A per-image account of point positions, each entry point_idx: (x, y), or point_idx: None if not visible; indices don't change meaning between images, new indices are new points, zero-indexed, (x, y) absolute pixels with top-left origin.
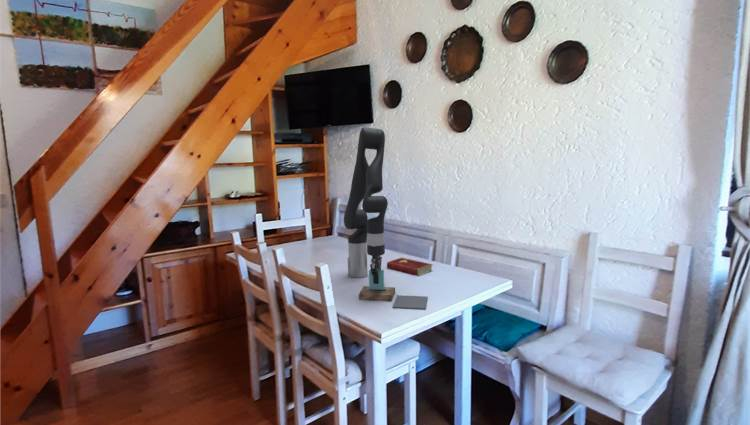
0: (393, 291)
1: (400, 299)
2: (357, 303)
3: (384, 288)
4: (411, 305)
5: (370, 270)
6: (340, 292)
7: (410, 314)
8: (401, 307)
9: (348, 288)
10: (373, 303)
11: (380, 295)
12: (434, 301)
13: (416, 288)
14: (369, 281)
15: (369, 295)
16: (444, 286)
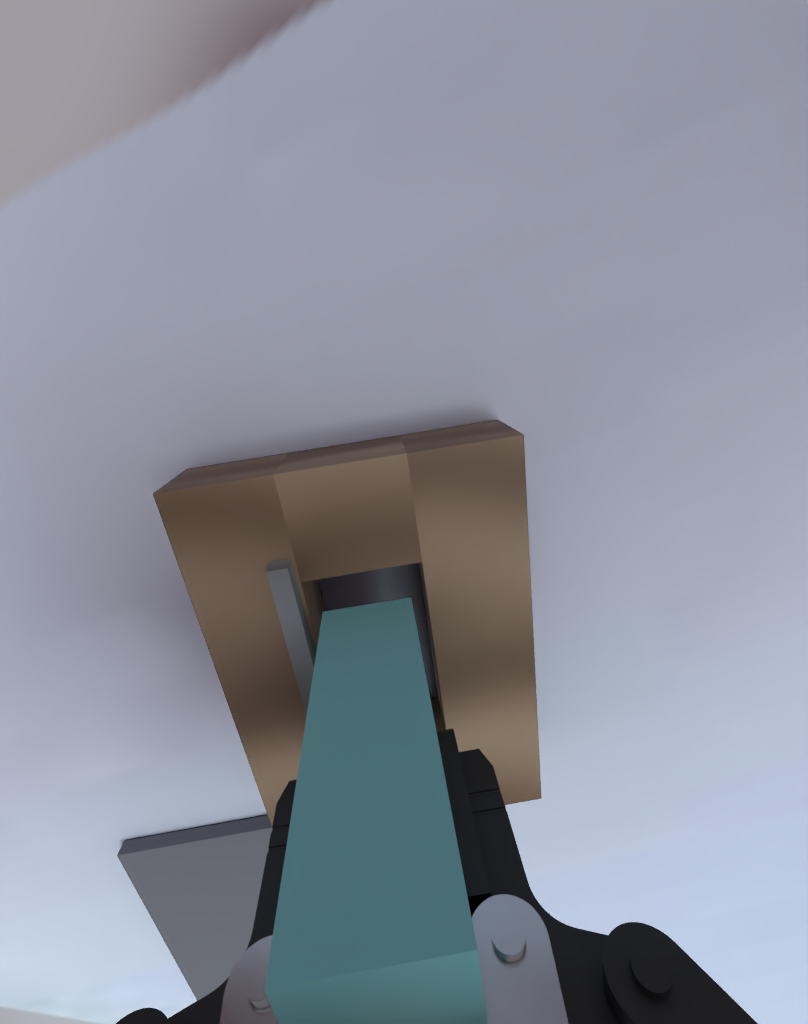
0: None
1: None
2: (53, 502)
3: (479, 718)
4: (217, 948)
5: (357, 995)
6: (370, 13)
7: (71, 964)
8: (147, 902)
9: (596, 95)
10: (150, 664)
11: (248, 744)
12: None
13: (663, 847)
14: (310, 704)
15: (209, 627)
16: (719, 971)
